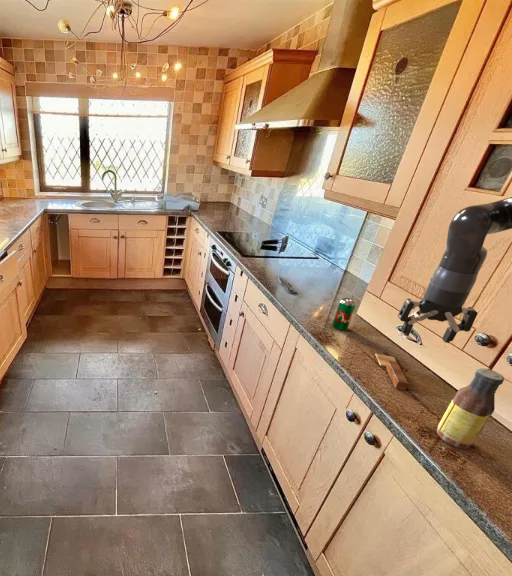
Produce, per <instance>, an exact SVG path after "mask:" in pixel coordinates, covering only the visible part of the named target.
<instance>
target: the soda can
mask: <svg viewBox="0 0 512 576" xmlns="http://www.w3.org/2000/svg"><path fill="white" fill-rule="evenodd" d="M356 302H357V301H356V300H355V299H354V298H351V297H342V298H341V299H339V302H338V305H337V308H336V312H335V315H334V318H333V320H332V327H333V328H334V329H335V330H337V331H340V332H342V331H347V330H348V329H349V326H350V324H351V321H352V318H353V315H354V312H355V309H356V306H357V303H356Z"/></svg>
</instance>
